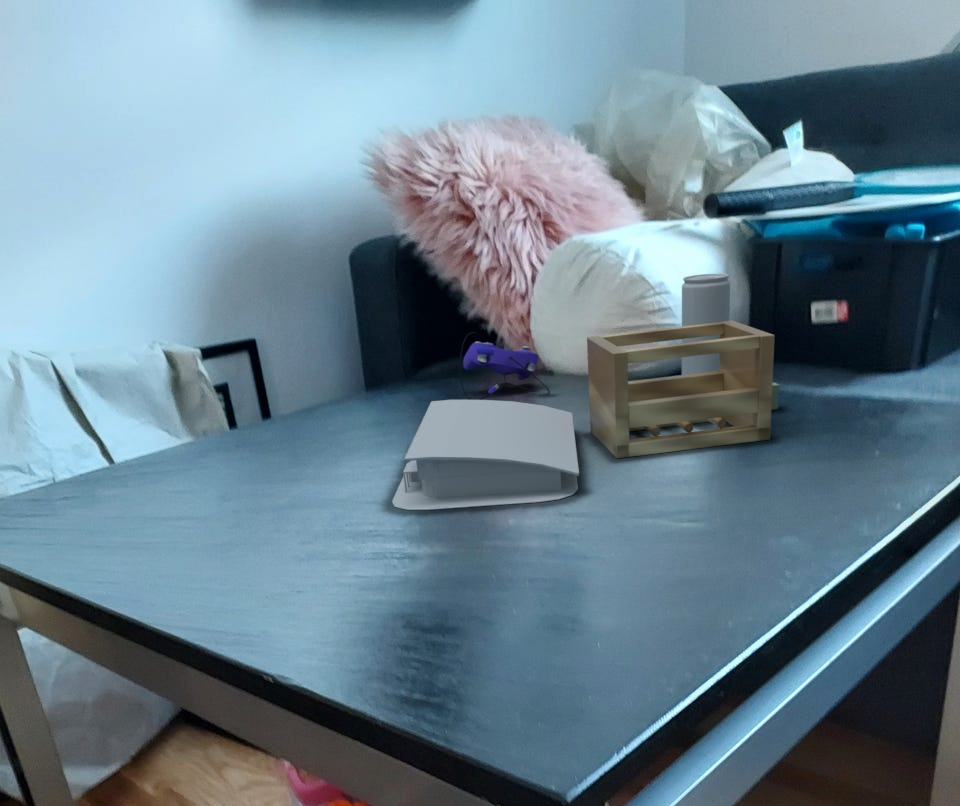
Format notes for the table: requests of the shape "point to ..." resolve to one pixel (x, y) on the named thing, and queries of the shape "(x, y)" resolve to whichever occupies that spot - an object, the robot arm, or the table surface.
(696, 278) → the beverage can
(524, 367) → the game controller
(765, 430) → the rack
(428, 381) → the table surface
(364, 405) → the table surface
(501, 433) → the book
